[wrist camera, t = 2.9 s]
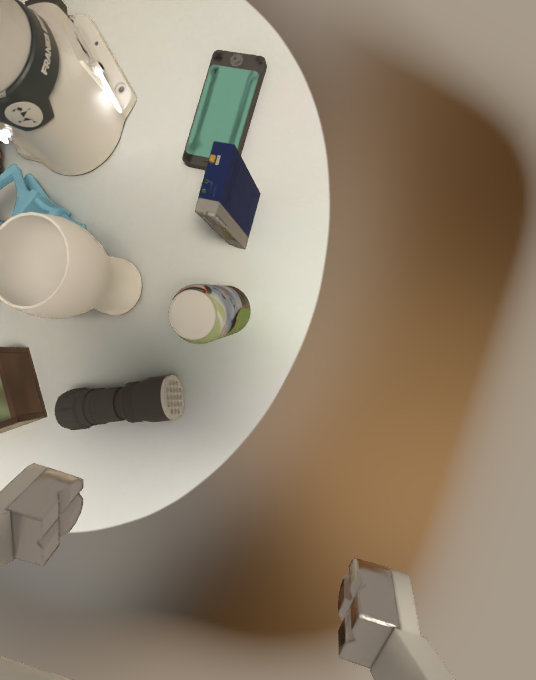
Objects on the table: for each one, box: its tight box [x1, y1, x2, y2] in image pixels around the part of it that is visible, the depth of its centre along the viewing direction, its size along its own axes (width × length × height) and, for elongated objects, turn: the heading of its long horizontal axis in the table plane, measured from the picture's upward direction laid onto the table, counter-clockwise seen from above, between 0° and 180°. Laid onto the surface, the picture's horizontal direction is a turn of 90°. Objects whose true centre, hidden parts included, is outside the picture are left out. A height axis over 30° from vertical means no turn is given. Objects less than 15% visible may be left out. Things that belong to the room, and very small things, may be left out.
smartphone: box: [183, 50, 267, 170], centre depth 50 cm, size 7×1×15 cm
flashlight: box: [55, 375, 184, 430], centre depth 49 cm, size 15×5×5 cm, turn 98°
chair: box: [0, 164, 85, 228], centre depth 51 cm, size 8×8×12 cm
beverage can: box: [169, 284, 250, 344], centre depth 43 cm, size 6×7×12 cm
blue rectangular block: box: [195, 141, 260, 249], centre depth 43 cm, size 7×2×12 cm, turn 164°
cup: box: [0, 212, 142, 319], centre depth 45 cm, size 11×11×15 cm
